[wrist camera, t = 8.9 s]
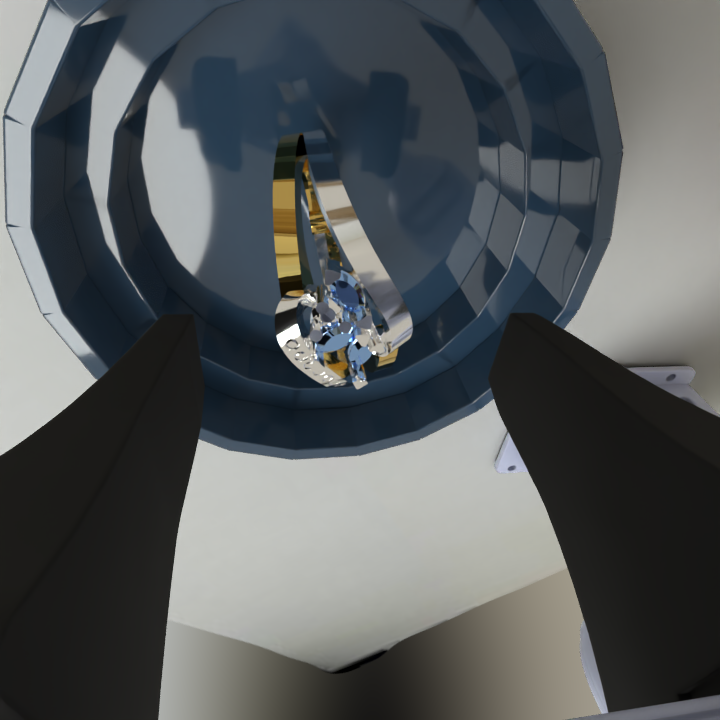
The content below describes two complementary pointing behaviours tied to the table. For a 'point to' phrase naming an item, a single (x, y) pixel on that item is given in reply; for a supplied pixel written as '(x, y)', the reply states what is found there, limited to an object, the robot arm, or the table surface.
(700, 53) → the table surface
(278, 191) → the ring
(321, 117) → the bowl
